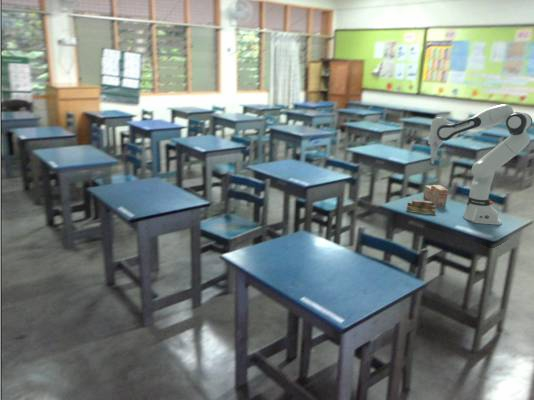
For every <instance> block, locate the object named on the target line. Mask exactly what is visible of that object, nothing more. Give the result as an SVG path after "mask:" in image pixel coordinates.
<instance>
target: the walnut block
mask: <svg viewBox="0 0 534 400" xmlns="http://www.w3.org/2000/svg"><path fill="white" fill-rule="evenodd" d="M411 203H412V207H417V208H425V209H431V206H433V203H432V202H431V201H428V200H422V199H412V202H411Z"/></svg>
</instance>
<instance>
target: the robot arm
mask: <svg viewBox="0 0 534 400" xmlns="http://www.w3.org/2000/svg"><path fill="white" fill-rule="evenodd" d="M501 124H505V125H506V128H507V130H508V133H509V134H510V135H509V136H507V138H505V139H504V140H503V141H501V142H500V143H499V144H497V146H496V145H495V147H494V148H492V149H490V151H489V152H488V153H486V154H485V155H482V157H480V158H479V159H478V160H477V161H475V162H474V163H473V165H472V167H471V174H472V176H473V179H472V181H471V184H470V190H469V195H468V196H467V199H466V207H465V211H464V212H463V215H462V218H463V219H465V220H467V221H470V222H472V223H475V224H483V225H484V224H485V225H493V226H494V225H496V226H499V225H501V224H502V220H501V219H500V218H499V212H498V211H497V209H495V208H494V207H493V203H494V202H493V201H492V200H491V199H490V198H489V196H490V192H491V186H492V183H493V180H494V177H495V173H496V171H497V170H498V169H499V168H501V167H502V166H503V165H505V164H507V163H508V162H509V161H510V160H511V159H513V158H514V157H516V156H517V155H518V154H519V153H521V152H522V151H524V149H525V148H526V147H528V145H529V144H530V143H531V137H530V135H529V133H527V131H528V130H529V129H530V128H531V126H532V125H533V118H532V116H531V115H530V114H528V113H525V112H520V111H514V109H513V107H512V106H511V105H510V104H507V103H504V104H499V105H495V106H492V107H489V108H486V109H483V110H482V111H479V112H478V113H477V114H475V115H473V116H470V118H467V119H465V120H462V121H460V122H457V123H454V122H451V121H450V120H448V119H447V118H446V117H444V116H438V117H434V118H433V119H432V121H431V124H430V127H429V136H428V142H427V144H428V145H429V147H430V158H431V159H430V161H431V162H430V164H435V160H436V158H437V156H438V150H439V148H440V147H441V146H442V145H443V142H447V141H448V140H452V139H455V138H457V137H459V135H460V133H463V132H466V131H470V130H477V129H487V128H491V127H494V126H497V125H501Z"/></svg>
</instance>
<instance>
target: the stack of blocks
mask: <svg viewBox="0 0 534 400" xmlns="http://www.w3.org/2000/svg"><path fill="white" fill-rule="evenodd" d="M423 192H424V193H423V198H424V199H425V200H426V201H431V202H432V205H433V206H436V207H446V204H447V198H448V194H449V189H447V188H446V187H445V186H442V185H440V184H432V185H424V191H423Z"/></svg>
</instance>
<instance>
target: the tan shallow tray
mask: <svg viewBox="0 0 534 400" xmlns="http://www.w3.org/2000/svg"><path fill="white" fill-rule="evenodd" d="M436 207H437V206H436V205H432V206H431V209H425V208H417V207H412V202H407V206H406V212H412V213H419V214H427V215H433V216H435V215H436Z"/></svg>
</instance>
